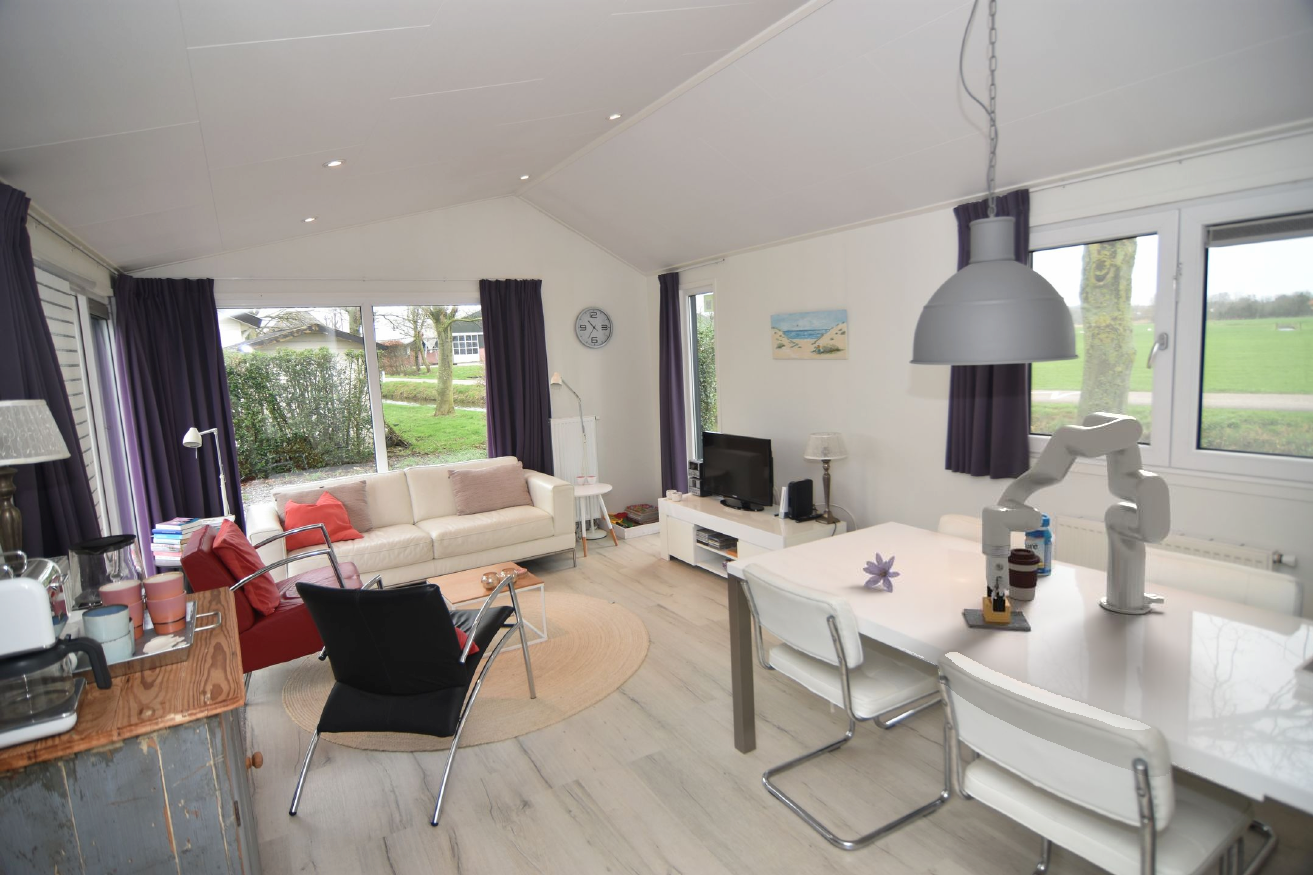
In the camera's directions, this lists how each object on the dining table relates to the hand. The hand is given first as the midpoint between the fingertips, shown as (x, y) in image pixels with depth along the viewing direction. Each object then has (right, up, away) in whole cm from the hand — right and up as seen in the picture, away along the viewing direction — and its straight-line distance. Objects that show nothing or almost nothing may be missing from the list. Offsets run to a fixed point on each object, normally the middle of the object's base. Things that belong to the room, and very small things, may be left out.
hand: (995, 605), depth 206 cm
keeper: (0, -5, +1) cm, 5 cm away
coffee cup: (+17, -2, +18) cm, 24 cm away
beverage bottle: (+33, +2, +38) cm, 51 cm away
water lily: (-23, -2, +34) cm, 41 cm away
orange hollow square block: (0, -4, +1) cm, 4 cm away
